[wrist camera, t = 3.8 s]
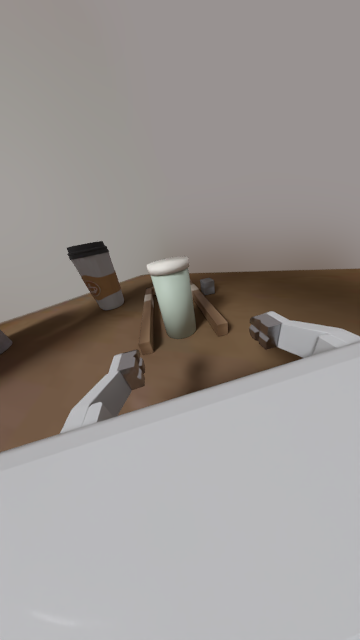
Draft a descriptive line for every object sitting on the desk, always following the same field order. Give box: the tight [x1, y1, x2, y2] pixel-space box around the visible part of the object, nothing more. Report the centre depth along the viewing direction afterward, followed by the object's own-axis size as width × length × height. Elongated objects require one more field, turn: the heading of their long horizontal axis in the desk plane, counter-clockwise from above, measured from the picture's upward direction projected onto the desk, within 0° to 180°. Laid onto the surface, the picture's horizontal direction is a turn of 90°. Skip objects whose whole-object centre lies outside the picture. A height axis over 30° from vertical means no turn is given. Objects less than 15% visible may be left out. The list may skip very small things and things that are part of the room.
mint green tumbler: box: [147, 256, 196, 339], centre depth 21 cm, size 5×5×11 cm
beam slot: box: [139, 278, 228, 355], centre depth 30 cm, size 16×25×3 cm, turn 9°
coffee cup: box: [67, 241, 124, 310], centre depth 35 cm, size 8×8×15 cm
